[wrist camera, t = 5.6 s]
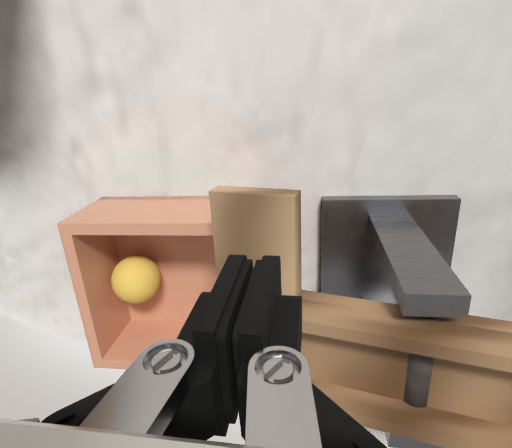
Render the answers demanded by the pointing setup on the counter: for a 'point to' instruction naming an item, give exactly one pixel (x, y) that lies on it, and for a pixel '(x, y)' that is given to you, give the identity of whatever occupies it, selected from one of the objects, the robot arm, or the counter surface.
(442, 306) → the pivot stand
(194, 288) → the pink open box
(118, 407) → the robot arm
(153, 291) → the ball
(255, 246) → the lever
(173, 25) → the counter surface
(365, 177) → the counter surface
